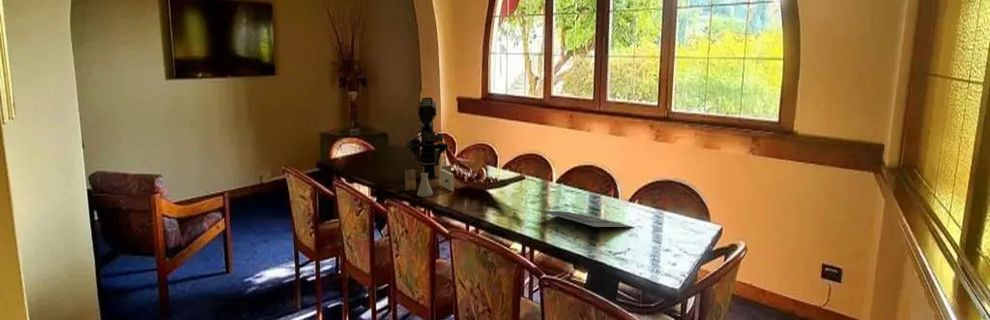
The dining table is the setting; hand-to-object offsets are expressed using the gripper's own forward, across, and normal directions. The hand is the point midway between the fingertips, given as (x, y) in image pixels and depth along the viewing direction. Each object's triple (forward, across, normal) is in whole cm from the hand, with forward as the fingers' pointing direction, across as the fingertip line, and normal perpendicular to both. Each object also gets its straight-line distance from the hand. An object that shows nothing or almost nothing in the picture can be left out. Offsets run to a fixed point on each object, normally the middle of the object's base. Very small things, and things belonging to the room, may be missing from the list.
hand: (427, 163), depth 283 cm
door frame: (+9, +5, +8) cm, 13 cm away
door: (+10, +10, +1) cm, 14 cm away
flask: (+15, -2, -2) cm, 16 cm away
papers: (+37, +29, -69) cm, 84 cm away
